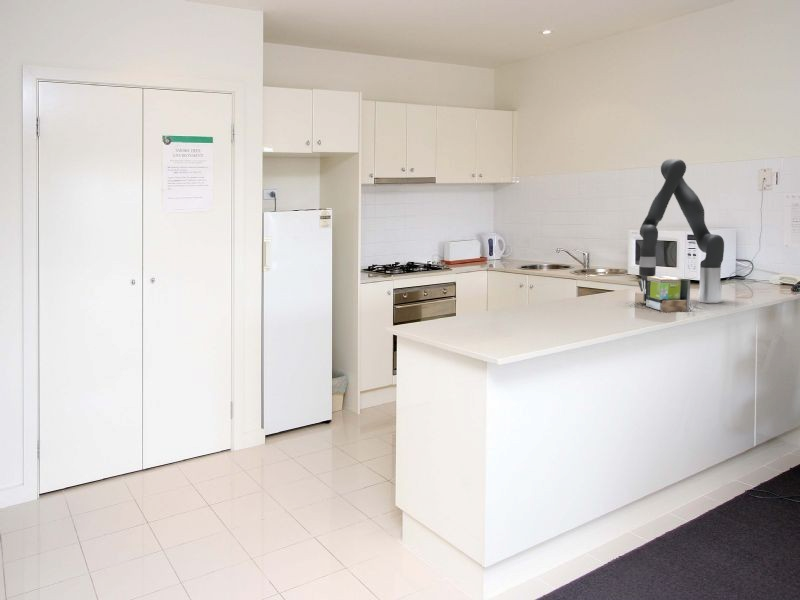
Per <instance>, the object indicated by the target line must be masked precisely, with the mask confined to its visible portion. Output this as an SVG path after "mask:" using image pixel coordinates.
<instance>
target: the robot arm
mask: <svg viewBox="0 0 800 600" xmlns="http://www.w3.org/2000/svg"><path fill="white" fill-rule="evenodd" d="M686 171H687V165H686V162H685V161H683V160H682V159H679V158H677V159H676V158H674V159H673V158H671V159H670V158H669V159H666V160H664V161H663V162H662V164H661V166H660V172H661V175H662V177H663V178H664V180H665V181H664V182H663V185H662V187H661V189H660V190H659V191H658V193H657V194H656V196H655V197H654V199H653V200H652V203H651V205H650V207H649V210H648V213H647V215H646V217H645V218H644V220H643V222H642V224H641V226H640V229H639V235H640V237H641V238H642V245H641V246H640V251H639V252H640V253H639V254H640V255H639V256H640V257H639V265H638V270H639V271H638V274H639V275H638V276H641V277H640V280H638V285H639V286H638V287H639V288H640V293H641V292H642V294H643V302H646V297H647V276H656V273H657V272H656V269H657V268H656V267H657V259H656V257H657V256H656V255H657V251H656V249H657V248H656V247H657V243H658V238H659V230H658V228H657V226H658V225H659V223H660V222H661V221H662V220H663V218H664V215H665V212H666V210H667V207H668V205H669V203H670V201H671V198H672V196H673V195H674V198H675V199H676V201H677V204H678V205H679V208H680V210H681V211H682V213H683V216H684V217H685V219H686V221H687V224H688V225H689V227H690V229H691V231H692V234H693V236H694V240H695V242H696V245H697V248H698V249H699V250H700V251H701V252H702V253H705V257H704V259H703V260H701V261H700V264H699V265H700V266H699V268H700V269H699V291H698V292H699V293H698V302H699V303H705V304H717V303H722V291H723V283H722V282H721V271H722V263H723V261H724V253H725V240H724V239H723V237H722V236H721V235H719V234H712V233H711V232H710V231H709V229H708V227H707V225H706V222H705V207H704V206H703V204H702V201H701V200H700V198H699V196H698V195H697V193H696V192H695V191H694V190H693V189H692V188H691V187H690V186H689V185H688V183H687V182H686V181H685V178H684V176H685V173H686Z"/></svg>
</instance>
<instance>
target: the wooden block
mask: <svg viewBox="0 0 800 600" xmlns="http://www.w3.org/2000/svg"><path fill="white" fill-rule="evenodd" d="M672 312H673V313H674V312H676V313H677V312H688V311H687V300H670V301H662V310H661V313H672Z"/></svg>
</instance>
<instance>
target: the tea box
mask: <svg viewBox="0 0 800 600" xmlns="http://www.w3.org/2000/svg"><path fill="white" fill-rule="evenodd" d="M681 279H682V278H678V277H673V276H669V275H655V276H647V297H646V301H645V303H646V304H645V305H646V307H648V308H652V309H654V310H658V311H662V301H670V300H680V287H681Z"/></svg>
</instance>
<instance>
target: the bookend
mask: <svg viewBox="0 0 800 600" xmlns="http://www.w3.org/2000/svg"><path fill="white" fill-rule="evenodd" d="M680 279H681V287H680V300H687V311H686V312H690V298H691V296H690V295H691V280H690V279H686V278H685V279H684V278H680Z"/></svg>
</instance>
